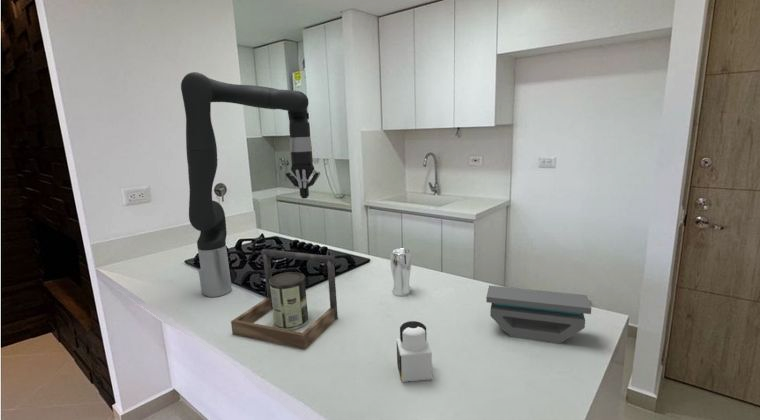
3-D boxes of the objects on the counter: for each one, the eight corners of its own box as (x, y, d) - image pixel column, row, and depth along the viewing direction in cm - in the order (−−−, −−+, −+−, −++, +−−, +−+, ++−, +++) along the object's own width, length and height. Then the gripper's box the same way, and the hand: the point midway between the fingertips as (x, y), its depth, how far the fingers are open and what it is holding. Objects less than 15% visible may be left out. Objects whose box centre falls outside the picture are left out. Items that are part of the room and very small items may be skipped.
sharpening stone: (583, 332, 106) (586, 295, 103) (588, 348, 99) (591, 308, 96) (488, 320, 114) (489, 285, 112) (485, 333, 107) (486, 296, 105)
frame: (271, 306, 129) (265, 248, 125) (339, 317, 119) (334, 255, 115) (231, 333, 113) (222, 268, 108) (306, 349, 103) (299, 278, 99)
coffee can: (294, 310, 125) (290, 269, 122) (315, 320, 119) (312, 276, 115) (266, 323, 118) (261, 279, 115) (287, 334, 111) (282, 288, 108)
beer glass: (412, 288, 138) (411, 247, 135) (411, 296, 132) (410, 254, 128) (392, 288, 139) (390, 247, 136) (390, 296, 132) (389, 254, 129)
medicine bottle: (397, 364, 95) (395, 319, 93) (426, 361, 96) (425, 316, 93) (401, 383, 88) (399, 334, 86) (432, 380, 89) (431, 332, 86)
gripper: (279, 151, 137) (283, 199, 141) (314, 150, 134) (318, 200, 138) (288, 149, 144) (292, 196, 148) (322, 149, 141) (325, 196, 145)
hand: (304, 198), depth 143 cm, fingers closed
